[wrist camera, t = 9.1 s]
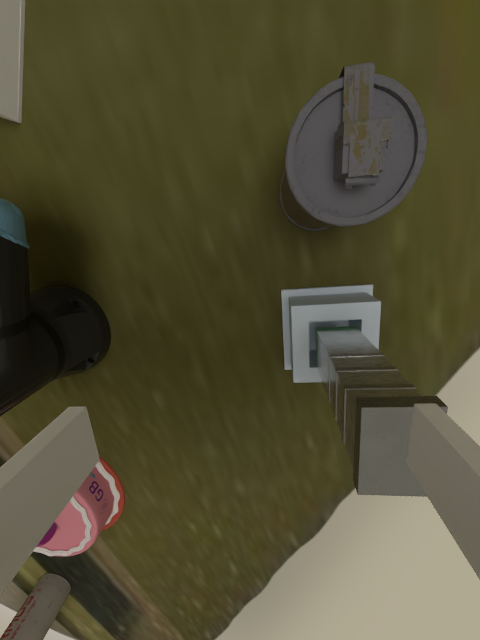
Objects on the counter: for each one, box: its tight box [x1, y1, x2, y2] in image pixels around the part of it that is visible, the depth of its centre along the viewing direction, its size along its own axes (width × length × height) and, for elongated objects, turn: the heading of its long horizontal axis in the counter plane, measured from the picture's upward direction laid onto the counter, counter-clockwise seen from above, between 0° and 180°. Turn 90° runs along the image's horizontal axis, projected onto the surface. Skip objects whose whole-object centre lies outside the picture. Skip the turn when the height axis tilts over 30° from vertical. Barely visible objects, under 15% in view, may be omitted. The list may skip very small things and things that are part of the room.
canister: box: [279, 62, 427, 231], centre depth 28 cm, size 11×10×20 cm
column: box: [315, 326, 448, 496], centre depth 27 cm, size 5×7×19 cm
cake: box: [33, 456, 125, 556], centre depth 54 cm, size 25×25×11 cm
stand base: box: [281, 284, 381, 383], centre depth 39 cm, size 13×13×9 cm
